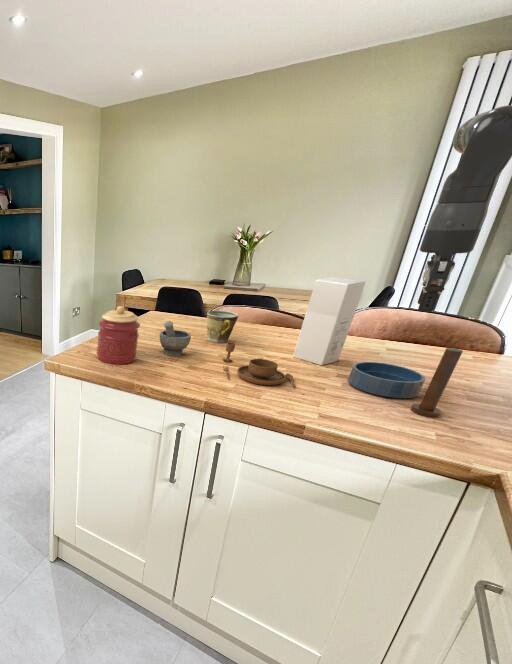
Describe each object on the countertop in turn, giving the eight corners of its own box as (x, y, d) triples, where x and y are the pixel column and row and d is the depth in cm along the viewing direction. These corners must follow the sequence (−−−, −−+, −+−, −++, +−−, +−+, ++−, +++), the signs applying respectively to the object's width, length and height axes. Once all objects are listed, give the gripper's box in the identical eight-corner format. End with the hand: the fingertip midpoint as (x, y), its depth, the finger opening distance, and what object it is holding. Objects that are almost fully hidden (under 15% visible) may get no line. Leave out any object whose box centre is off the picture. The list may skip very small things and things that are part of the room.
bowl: (415, 386, 108) (423, 369, 106) (418, 405, 98) (427, 387, 96) (348, 374, 117) (354, 358, 114) (345, 390, 107) (351, 373, 105)
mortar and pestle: (167, 346, 143) (172, 313, 138) (192, 353, 136) (199, 319, 131) (149, 353, 137) (153, 319, 132) (174, 361, 130) (180, 325, 125)
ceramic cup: (198, 335, 153) (203, 310, 149) (226, 336, 152) (232, 310, 147) (210, 346, 141) (215, 319, 137) (240, 347, 140) (246, 319, 136)
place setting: (227, 382, 114) (231, 363, 111) (220, 358, 131) (223, 341, 128) (299, 390, 108) (306, 370, 105) (282, 364, 125) (287, 346, 122)
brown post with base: (438, 411, 95) (469, 348, 89) (440, 419, 92) (472, 355, 85) (409, 405, 98) (437, 344, 92) (410, 413, 95) (439, 350, 88)
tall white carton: (309, 352, 133) (333, 276, 123) (338, 360, 126) (366, 281, 116) (292, 357, 130) (315, 279, 120) (321, 365, 123) (348, 284, 112)
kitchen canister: (121, 368, 126) (127, 313, 119) (88, 357, 135) (91, 306, 128) (143, 357, 134) (150, 305, 126) (110, 348, 143) (115, 299, 135)
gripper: (486, 228, 72) (452, 316, 78) (477, 225, 82) (447, 303, 88) (427, 229, 77) (399, 312, 83) (426, 226, 86) (400, 300, 93)
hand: (424, 307), depth 86 cm, fingers open, 8 cm apart
